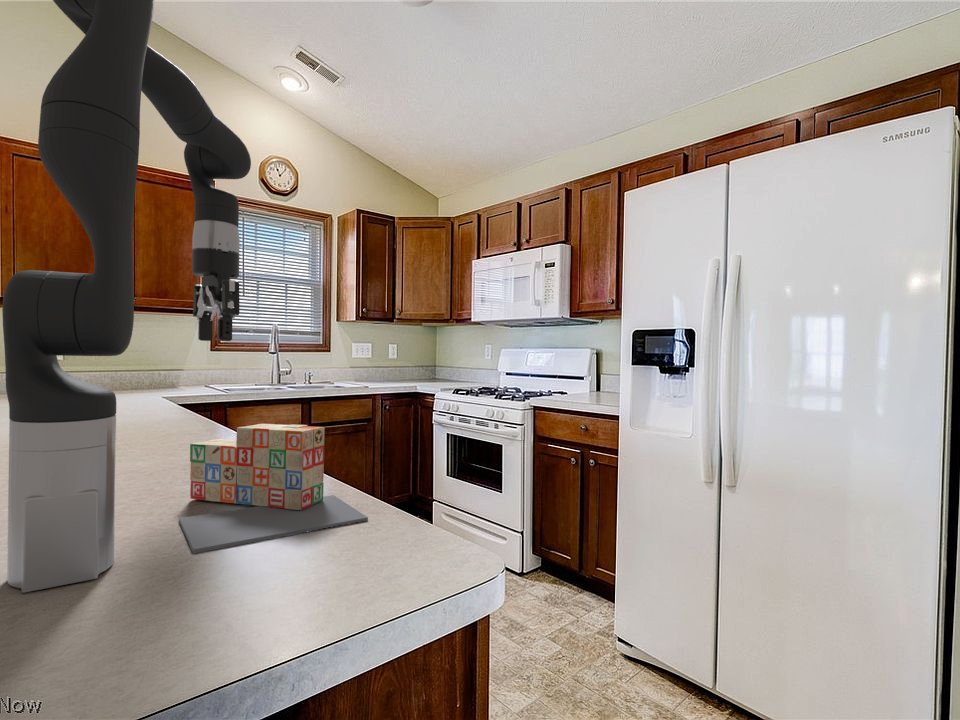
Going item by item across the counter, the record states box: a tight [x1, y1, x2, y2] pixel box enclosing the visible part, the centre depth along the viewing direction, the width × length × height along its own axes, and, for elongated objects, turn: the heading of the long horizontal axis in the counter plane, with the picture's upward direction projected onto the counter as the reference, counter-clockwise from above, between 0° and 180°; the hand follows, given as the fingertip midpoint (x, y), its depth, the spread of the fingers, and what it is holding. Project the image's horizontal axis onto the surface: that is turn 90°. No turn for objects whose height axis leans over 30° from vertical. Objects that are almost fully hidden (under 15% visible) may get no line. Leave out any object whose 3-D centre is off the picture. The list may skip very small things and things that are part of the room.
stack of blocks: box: [189, 423, 326, 510], centre depth 84 cm, size 21×6×12 cm, turn 74°
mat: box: [178, 494, 369, 554], centre depth 76 cm, size 14×23×1 cm, turn 127°
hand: (214, 340), depth 92 cm, fingers open, 8 cm apart
